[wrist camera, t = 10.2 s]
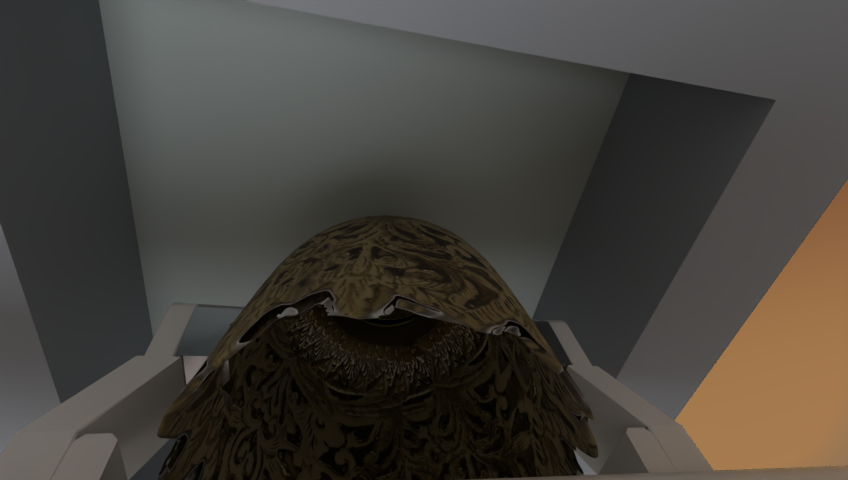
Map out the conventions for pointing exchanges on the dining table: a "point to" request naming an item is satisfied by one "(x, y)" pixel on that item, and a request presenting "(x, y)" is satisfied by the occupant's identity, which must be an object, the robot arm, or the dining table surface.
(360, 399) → the wire cup brush
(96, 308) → the gray square tray
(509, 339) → the robot arm
